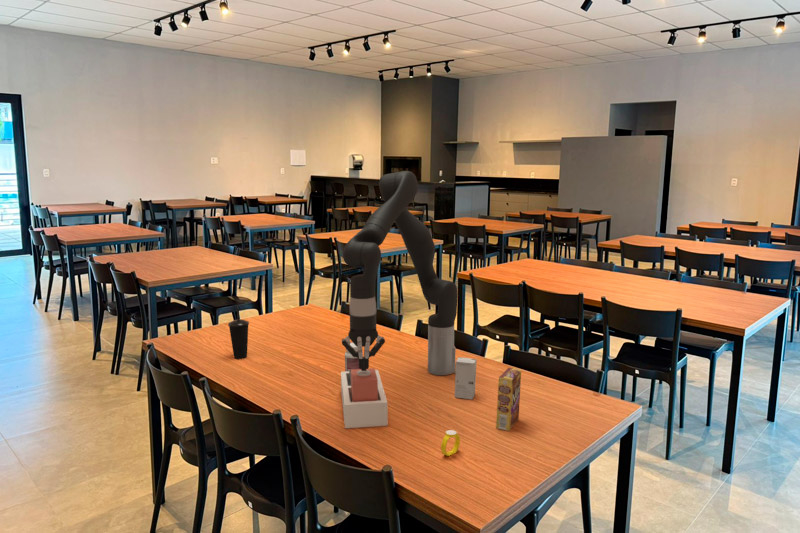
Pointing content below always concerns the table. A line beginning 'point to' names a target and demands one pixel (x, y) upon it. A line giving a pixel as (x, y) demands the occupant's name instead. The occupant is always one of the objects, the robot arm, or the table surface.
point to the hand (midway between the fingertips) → (363, 370)
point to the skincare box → (465, 378)
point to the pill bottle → (351, 359)
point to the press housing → (363, 406)
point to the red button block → (364, 385)
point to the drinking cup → (239, 337)
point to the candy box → (508, 399)
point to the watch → (443, 446)
